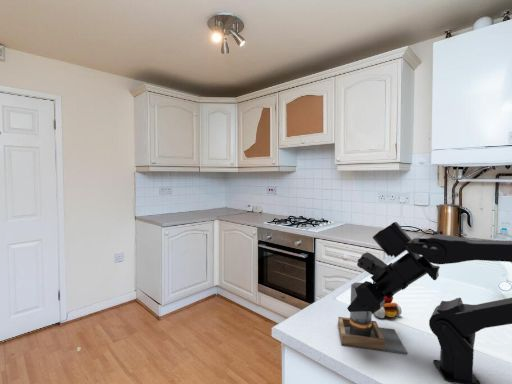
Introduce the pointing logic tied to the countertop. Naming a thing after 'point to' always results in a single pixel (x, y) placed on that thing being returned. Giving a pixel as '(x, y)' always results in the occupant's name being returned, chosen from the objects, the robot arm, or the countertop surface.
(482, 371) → the countertop surface
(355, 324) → the grey metal cylinder
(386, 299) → the multicolored petal flower
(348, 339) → the picture frame
